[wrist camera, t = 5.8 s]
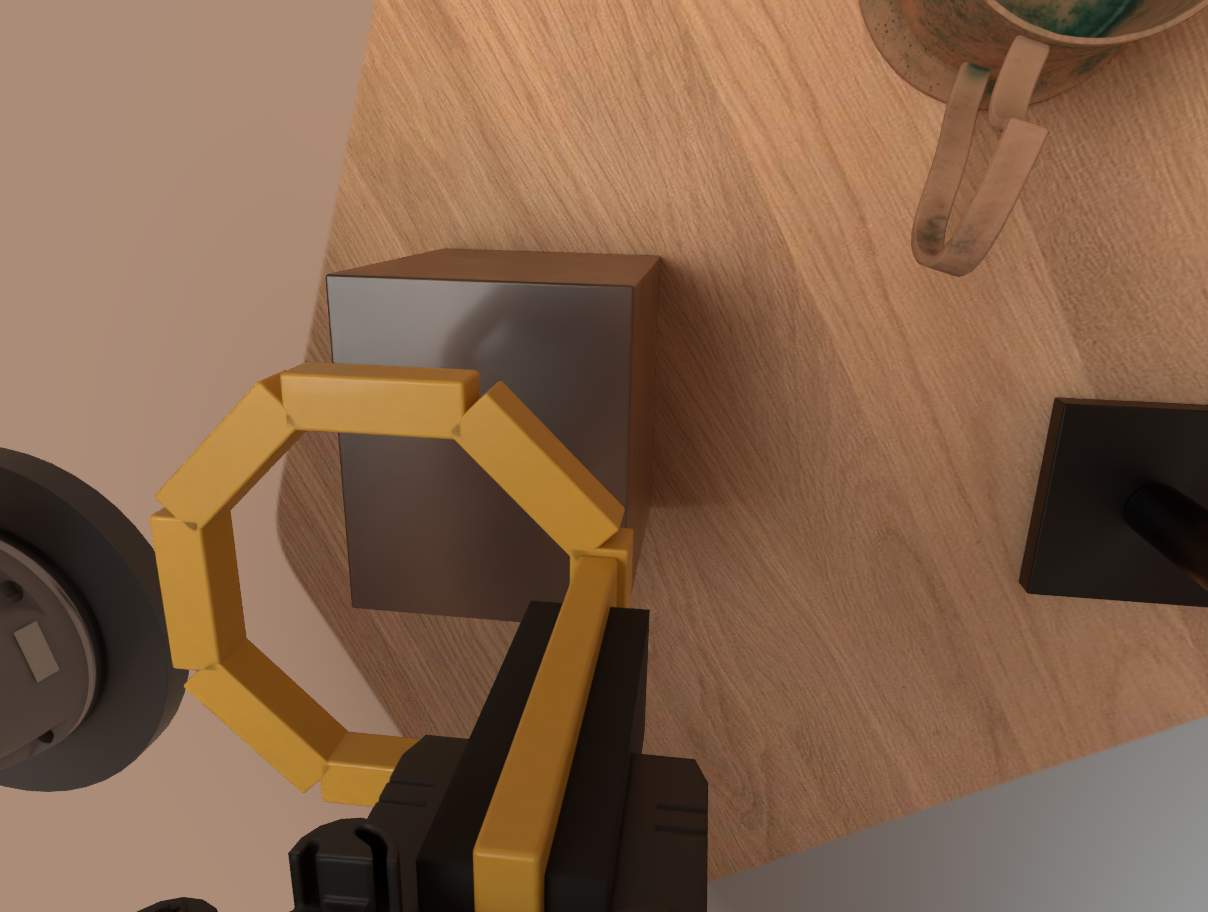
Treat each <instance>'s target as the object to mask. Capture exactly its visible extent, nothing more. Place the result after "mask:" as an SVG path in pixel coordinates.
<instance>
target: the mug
mask: <svg viewBox="0 0 1208 912" xmlns="http://www.w3.org/2000/svg"><path fill="white" fill-rule="evenodd" d="M859 4H860V8H861V12H862V15H863V18H864V21H865V24H866V27H867V29H868V31H869V33H870V36H871V38H872V40H873V41H874V43H875V45H876V47H877V49H878V50H879V52H880V53H881V54H882V56H883V57H884V59H885V60H886V61H887V62H888V64H889V65H890V66H891V67H892V68H893V69H894V70H895V71H896V72H897V74H898V75H900V76H901V77H902V78H903V79H904V80H905V81H906V82H908V83H909V84H911V85H912V86H913V87H915V88H916V89H918V90H919V91H921V92H923V93H924V94H926V95H928V96H930V97H932V98H935V99H937V100H939V101H942V102H945V103H947V107H946V111H945V115H944V119H943V124H942V128H941V133H940V137H939V141H938V145H937V149H936V153H935V156H934V159H933V163H932V166H931V169H930V172H929V175H928V178H927V181H926V184H925V187H924V190H923V193H922V196H921V199H920V202H919V205H918V208H917V212H916V215H915V219H914V223H913V228H912V235H911V246H912V251H913V255H914V257H915V259H916V261H917V262H918V263H919V264H921V265H923V266H926V267H929V268H932V269H935V270H938V271H941V272H944V273H947V274H950V275H953V276H957V277H959V276H964V275H966V274H968V273H969V272H971V271H972V270H973V269H974V268H975V267H976V266H977V265H979V263H980V262H981V261H982V260H983V258H984V257H985V256H986V254H987V253H988V251H989V250H990V248H991V247H992V245H993V244H994V242H995V240H996V239H997V237H998V235H999V233H1000V232H1001V230H1002V228H1003V226H1004V225H1005V223H1006V221H1007V219H1008V217H1009V215H1010V213H1011V211H1012V209H1013V207H1014V205H1015V203H1016V201H1017V199H1018V197H1019V195H1020V193H1021V191H1022V189H1023V187H1024V185H1025V183H1026V181H1027V179H1028V177H1029V175H1030V173H1031V170H1032V168H1033V166H1034V164H1035V162H1036V160H1037V158H1038V156H1039V153H1040V151H1041V149H1042V147H1043V145H1044V143H1045V141H1046V138H1047V136H1048V134H1049V132H1050V131H1049V129H1048V128H1045V127H1042V126H1039V125H1036V124H1033V123H1030V122H1027V113H1028V107H1029V104H1032V103H1035V102H1038V101H1042V100H1045V99H1047V98H1050V97H1053V96H1055V95H1057V94H1060V93H1062V92H1064V91H1066V90H1068V89H1070V88H1072V87H1074V86H1075V85H1077V84H1079V83H1081V82H1082V81H1084V80H1085V79H1087V78H1088V77H1090V76H1091V75H1093V74H1094V73H1095V72H1097V71H1098V70H1100V69H1101V68H1102V67H1103V66H1105V65H1106V64H1107V63H1108V62H1109V61H1110V60H1112V59H1113V58H1114V57H1115V56H1116V55H1117V54H1118V53H1119V52H1120V51H1121V50H1122V49H1123V48H1124V47H1125V46H1126V45H1127V44H1128V43H1130V42H1133V41H1136V40H1140V39H1143V38H1146V37H1148V36H1151V35H1154V34H1157V33H1159V32H1162V31H1164V30H1167V29H1169V28H1171V27H1173V26H1175V25H1177V24H1179V23H1181V22H1183V21H1184V20H1186V19H1188V18H1190V17H1191V16H1193V15H1194V14H1196V13H1197V12H1199V11H1200V10H1202V9H1203V8H1205V7H1206V6H1207V5H1208V0H859ZM979 109H989V111H988V118H989V122H990V125H991V127H992V128H993V129H995V130H998V131H1001V132H1003V133H1002V135H1001V137H1000V140H999V142H998V144H997V146H996V149H995V151H994V153H993V155H992V158H991V160H990V162H989V164H988V166H987V168H986V171H985V173H984V175H983V177H982V179H981V181H980V184H979V186H978V188H977V190H976V192H975V194H974V196H973V198H972V200H971V202H970V204H969V206H968V208H967V210H966V212H965V214H964V216H963V218H962V220H961V221H960V223H959V225H958V227H957V229H956V230H955V232H954V234H953V235H952V237H951V239H950V240H949V241H948V243H947V244H946V246H945V247H944V239H945V231H946V227H947V222H948V219H949V215H950V212H951V209H952V206H953V203H954V200H955V197H956V194H957V191H958V188H959V185H960V182H961V179H962V176H963V173H964V170H965V166H966V163H967V159H968V155H969V151H970V147H971V143H972V138H973V133H974V128H975V123H976V118H977V114H978V110H979Z"/></svg>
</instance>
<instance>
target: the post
mask: <svg viewBox="0 0 1208 912" xmlns="http://www.w3.org/2000/svg"><path fill="white" fill-rule="evenodd" d="M1019 583H1020V584H1021V586H1022V587H1023V588H1024V590H1025V591H1026V592H1027V593H1028V594H1040V595H1053V596H1066V597H1079V598H1092V599H1105V600H1119V601H1132V602H1145V603H1158V604H1171V605H1184V606H1197V607H1208V405H1194V404H1174V403H1154V402H1134V401H1114V400H1094V399H1074V398H1055V400H1054V405H1053V410H1052V415H1051V420H1050V425H1049V430H1048V435H1047V441H1046V446H1045V451H1044V456H1043V461H1042V466H1041V471H1040V476H1039V482H1038V487H1037V492H1036V497H1035V502H1034V507H1033V512H1032V517H1031V523H1030V528H1029V533H1028V538H1027V543H1026V548H1025V553H1024V558H1023V563H1022V569H1021V574H1020V579H1019Z"/></svg>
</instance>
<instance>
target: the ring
mask: <svg viewBox="0 0 1208 912" xmlns="http://www.w3.org/2000/svg"><path fill="white" fill-rule="evenodd" d="M306 431H321V432H338V433H355V434H372V435H388V436H405V437H422V438H439V439H454V440H455V441H456V442H457V443H458V444H459V445H460V446H461V447H462V448H463V449H464V450H465V451H466V452H467V453H468V454H469V455H470V456H471V457H472V458H473V459H474V460H475V461H476V462H477V463H478V464H479V465H480V466H481V467H482V468H483V469H484V470H485V471H486V472H487V473H488V474H489V475H490V476H491V477H492V478H493V479H494V480H495V481H496V482H497V483H498V484H499V485H500V486H501V487H502V488H503V489H504V490H505V491H506V492H507V493H508V494H509V495H510V496H511V497H512V498H513V499H514V500H515V501H516V502H517V503H518V504H519V505H520V506H521V507H522V508H523V509H524V510H525V511H526V512H527V513H528V514H529V515H530V516H531V517H532V518H533V519H534V520H535V521H536V522H537V523H538V524H539V525H540V526H541V527H542V529H543V530H544V531H545V532H546V533H547V534H548V535H549V536H550V537H551V538H552V539H553V540H554V541H555V542H556V543H557V544H558V545H559V546H560V547H561V548H562V549H563V550H564V551H565V552H566V553H567V554H568V555H569V556H570V585H569V588H568V590H567V593H566V596H565V599H564V601H563V604H562V607H561V610H560V612H559V615H558V618H557V621H556V623H555V626H554V629H553V632H552V634H551V637H550V640H549V643H548V646H547V648H546V651H545V654H544V657H543V659H542V662H541V665H540V668H539V670H538V673H537V676H536V679H535V681H534V684H533V687H532V690H531V692H530V695H529V698H528V701H527V703H526V706H525V709H524V712H523V714H522V717H521V720H520V723H519V725H518V728H517V731H516V734H515V736H514V739H513V742H512V745H511V747H510V750H509V753H508V756H507V758H506V761H505V764H504V767H503V769H502V772H501V775H500V778H499V780H498V783H497V786H496V789H495V791H494V794H493V797H492V800H491V802H490V805H489V808H488V811H487V813H486V816H485V819H484V822H483V824H482V827H481V830H480V833H479V835H478V838H477V841H476V844H475V846H474V849H473V872H474V903H475V912H544V874H545V870H546V866H547V862H548V858H549V854H550V850H551V846H552V842H553V838H554V834H555V830H556V826H557V822H558V818H559V814H560V810H561V805H562V801H563V797H564V793H565V789H566V785H567V781H568V777H569V773H570V769H571V765H572V761H573V757H574V753H575V749H576V745H577V741H578V736H579V732H580V728H581V724H582V720H583V716H584V712H585V708H586V704H587V700H588V696H589V692H590V688H591V684H592V680H593V676H594V672H595V668H596V663H597V659H598V655H599V651H600V647H601V643H602V639H603V635H604V631H605V627H606V623H607V619H608V615H609V611H610V607H620V608H631V587H632V560H633V529H628V528H620V525H621V521H622V517H623V514H624V510H625V509H624V507H623V506H622V505H621V504H620V503H619V502H618V501H617V500H616V499H615V498H614V497H613V496H612V495H611V493H610V492H609V491H608V490H607V489H606V488H605V487H604V486H603V485H602V484H601V483H600V482H599V481H598V480H597V479H596V478H595V477H594V476H593V475H592V474H591V473H590V472H589V471H588V470H587V469H586V468H585V467H584V466H583V465H582V463H581V462H580V461H579V460H578V459H577V458H576V457H575V456H574V455H573V454H572V453H571V452H570V451H569V450H568V449H567V448H566V447H565V446H564V445H563V444H562V443H561V442H560V441H559V440H558V439H557V438H556V437H555V436H554V434H553V433H552V432H551V431H550V430H549V429H548V428H547V427H546V426H545V425H544V424H543V423H542V422H541V421H540V420H539V419H538V418H537V417H536V416H535V415H534V414H533V413H532V412H531V411H530V410H529V409H528V408H527V407H526V406H525V404H524V403H523V402H522V401H521V400H520V399H519V398H518V397H517V396H516V395H515V394H514V393H513V392H512V391H511V390H510V389H509V388H508V387H507V386H506V385H505V384H504V383H503V382H502V381H498V382H497V383H496V384H495V385H494V386H493V387H492V388H491V389H489V390H488V391H487V392H486V393H485V394H484V395H483V396H482V397H481V398H480V380H479V372H478V371H476V370H464V369H444V368H424V367H403V366H383V365H363V364H343V363H323V362H306V363H304V364H301V365H299V366H296V367H294V368H292V369H289V370H284V371H282V372H280V373H278V374H275V375H273V376H270V377H268V378H266V379H263V380H261V381H258V382H257V383H256V385H254V386H253V388H252V389H251V390H250V391H249V392H248V393H247V394H246V395H245V397H244V398H243V399H242V400H241V401H240V402H239V403H238V404H237V405H236V406H235V408H234V409H233V410H232V411H231V412H230V413H229V414H228V416H226V417H225V419H224V420H223V421H222V422H221V423H220V424H219V425H218V426H217V427H216V429H215V430H214V431H213V432H212V433H211V434H210V435H209V436H208V438H207V439H206V440H205V441H204V442H203V443H202V444H201V445H200V446H199V447H198V448H197V450H196V451H195V452H194V453H193V454H192V455H191V456H190V457H189V458H188V460H187V461H186V462H185V463H184V464H183V465H182V466H181V467H180V469H178V471H177V472H176V473H175V474H174V475H173V476H172V477H171V478H170V479H169V481H168V482H167V483H166V484H165V485H164V486H163V487H162V488H161V489H160V491H159V492H158V493H157V494H156V495H155V498H156V499H157V500H158V501H159V502H160V503H161V504H162V505H163V506H164V507H165V508H163V509H161V510H160V511H158V512H156V513H155V514H153V515H151V516H150V524H151V530H152V537H153V543H154V549H155V556H156V562H157V568H158V575H159V581H160V587H161V594H162V600H163V606H164V613H165V619H166V625H167V632H168V638H169V644H170V650H171V657H172V663H173V667H174V668H176V669H187V670H198V672H196V673H195V674H194V675H193V676H192V677H191V678H190V679H189V680H188V681H187V682H186V683H185V684H184V688H185V689H187V690H188V691H189V692H190V693H191V694H192V695H193V696H194V697H196V698H197V699H198V700H199V701H200V702H201V703H202V704H203V705H205V706H206V707H207V708H208V709H209V710H210V711H211V712H212V713H214V714H215V715H216V716H217V717H218V718H219V719H220V720H221V721H222V722H224V723H225V724H226V725H227V726H228V727H229V728H230V729H231V730H232V731H234V732H235V733H236V734H237V735H238V736H239V737H240V738H241V739H243V740H244V741H245V742H246V743H247V744H248V745H249V746H250V747H252V748H253V749H254V750H255V751H256V752H257V753H258V754H259V755H260V756H262V757H263V758H264V759H265V760H266V761H267V762H268V763H269V764H271V765H272V766H273V767H274V768H275V769H276V770H277V771H278V772H280V773H281V774H282V775H283V776H284V777H285V778H286V779H287V780H288V781H290V782H291V783H292V784H293V785H294V786H295V787H296V788H297V789H299V790H300V791H301V792H302V793H305V792H306V791H307V790H308V789H310V788H311V787H312V786H313V785H314V784H316V783H317V782H318V781H319V780H321V790H322V798H323V801H325V802H333V803H342V804H351V805H360V806H369V807H374V805H375V803H376V802H378V801H379V796H380V794H381V793H382V791H383V789H384V787H385V785H386V783H387V782H388V783H389V780H390V776H391V774H392V773H393V771H394V769H395V767H396V765H397V763H398V762H399V760H400V758H401V756H402V754H403V753H405V752H406V751H407V750H408V749H410V748H411V747H412V746H413V745H414V744H416V743H417V742H418V741H419V740H421V739H415V738H405V737H395V736H386V735H375V734H366V733H355V732H348V731H347V730H346V729H345V728H344V727H343V726H342V725H341V724H340V723H338V721H336V720H335V719H334V718H333V717H332V716H331V715H330V714H329V713H328V712H326V711H325V710H324V709H323V708H322V707H321V706H320V705H319V704H318V703H317V702H316V701H315V700H314V699H312V698H311V697H310V696H309V695H308V694H307V693H306V692H305V691H304V690H303V689H302V688H300V687H299V686H298V685H297V684H296V683H295V682H294V681H293V680H292V679H291V678H290V677H288V676H287V675H286V674H285V673H284V672H283V671H282V670H281V669H280V668H279V667H278V666H276V665H275V664H274V663H273V662H272V661H271V660H270V659H269V658H268V657H266V655H264V654H263V653H262V652H261V651H260V650H259V649H258V648H257V647H256V646H255V645H254V644H252V643H251V642H250V641H249V640H248V639H247V638H246V631H245V624H244V615H243V607H242V599H241V592H240V583H239V575H238V568H237V560H236V552H235V544H234V536H233V528H232V520H231V512H230V510H231V509H232V508H233V507H234V506H235V505H236V504H237V503H238V502H239V501H240V500H241V499H242V498H243V497H244V496H245V495H246V494H247V492H248V491H249V490H250V489H251V488H252V487H253V486H254V485H255V484H256V483H257V482H258V481H259V480H260V478H262V477H263V476H264V475H265V474H266V473H267V472H268V471H269V469H270V468H271V467H272V466H273V465H274V464H275V463H276V462H277V461H278V460H279V459H280V458H281V457H282V456H283V455H284V454H285V453H286V452H287V451H288V450H289V449H290V448H291V446H292V445H293V444H294V443H295V442H296V441H297V440H298V439H299V438H300V437H301V436H302V435H303V434H304V433H305V432H306Z"/></svg>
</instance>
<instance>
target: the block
mask: <svg viewBox="0 0 1208 912" xmlns="http://www.w3.org/2000/svg"><path fill="white" fill-rule="evenodd" d="M659 279H660V256H655V255H624V254H594V253H563V252H532V251H501V250H470V249H439V250H435V251H430V252H426V253H421V254H417V255H412V256H408V257H403V258H398V259H394V260H389V261H385V262H380V263H376V264H371V265H367V266H362V267H358V268H353V269H349V270H344V271H339V272H335V273H330V274H327V275H326V289H327V302H328V314H329V326H330V339H331V351H332V363H343V364H363V365H383V366H403V367H424V368H444V369H464V370H476V371H478V372H479V380H480V398H481V397H482V396H483V395H484V394H485V393H486V392H487V391H488V390H489V389H491V388H492V387H493V386H494V385H495V384H496V383H497V382H498V381H502V382H503V383H504V384H505V385H506V386H507V387H508V388H509V389H510V390H511V391H512V392H513V393H514V394H515V395H516V396H517V397H518V398H519V399H520V400H521V401H522V402H523V403H524V404H525V406H526V407H527V408H528V409H529V410H530V411H531V412H532V413H533V414H534V415H535V416H536V417H537V418H538V419H539V420H540V421H541V422H542V423H543V424H544V425H545V426H546V427H547V428H548V429H549V430H550V431H551V432H552V433H553V434H554V436H555V437H556V438H557V439H558V440H559V441H560V442H561V443H562V444H563V445H564V446H565V447H566V448H567V449H568V450H569V451H570V452H571V453H572V454H573V455H574V456H575V457H576V458H577V459H578V460H579V461H580V462H581V463H582V465H583V466H584V467H585V468H586V469H587V470H588V471H589V472H590V473H591V474H592V475H593V476H594V477H595V478H596V479H597V480H598V481H599V482H600V483H601V484H602V485H603V486H604V487H605V488H606V489H607V490H608V491H609V492H610V493H611V495H612V496H613V497H614V498H615V499H616V500H617V501H618V502H619V503H620V504H621V505H622V506H623V507H624V509H625V510H624V514H623V517H622V521H621V525H620V528H628V529H633V560H632V587H631V592H632V588H633V583H634V579H635V574H636V569H637V565H638V560H639V555H640V551H641V546H642V542H643V537H644V532H645V528H646V523H647V519H648V514H649V509H650V496H651V472H652V448H653V424H654V400H655V376H656V352H657V328H658V303H659ZM338 438H339V450H340V462H341V475H342V487H343V499H344V512H345V524H346V536H347V549H348V561H349V573H350V586H351V598H352V607H353V608H362V609H374V610H385V611H397V612H408V613H420V614H432V615H443V616H455V617H466V618H478V619H490V620H501V621H513V622H521V621H522V619H523V617H524V614H525V612H526V610H527V608H528V605H529V603H530V601H544V602H557V603H563V601H564V599H565V596H566V593H567V590H568V588H569V585H570V556H569V555H568V554H567V553H566V552H565V551H564V550H563V549H562V548H561V547H560V546H559V545H558V544H557V543H556V542H555V541H554V540H553V539H552V538H551V537H550V536H549V535H548V534H547V533H546V532H545V531H544V530H543V529H542V527H541V526H540V525H539V524H538V523H537V522H536V521H535V520H534V519H533V518H532V517H531V516H530V515H529V514H528V513H527V512H526V511H525V510H524V509H523V508H522V507H521V506H520V505H519V504H518V503H517V502H516V501H515V500H514V499H513V498H512V497H511V496H510V495H509V494H508V493H507V492H506V491H505V490H504V489H503V488H502V487H501V486H500V485H499V484H498V483H497V482H496V481H495V480H494V479H493V478H492V477H491V476H490V475H489V474H488V473H487V472H486V471H485V470H484V469H483V468H482V467H481V466H480V465H479V464H478V463H477V462H476V461H475V460H474V459H473V458H472V457H471V456H470V455H469V454H468V453H467V452H466V451H465V450H464V449H463V448H462V447H461V446H460V445H459V444H458V443H457V442H456V441H455V440H454V439H439V438H422V437H405V436H388V435H372V434H355V433H338Z"/></svg>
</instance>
